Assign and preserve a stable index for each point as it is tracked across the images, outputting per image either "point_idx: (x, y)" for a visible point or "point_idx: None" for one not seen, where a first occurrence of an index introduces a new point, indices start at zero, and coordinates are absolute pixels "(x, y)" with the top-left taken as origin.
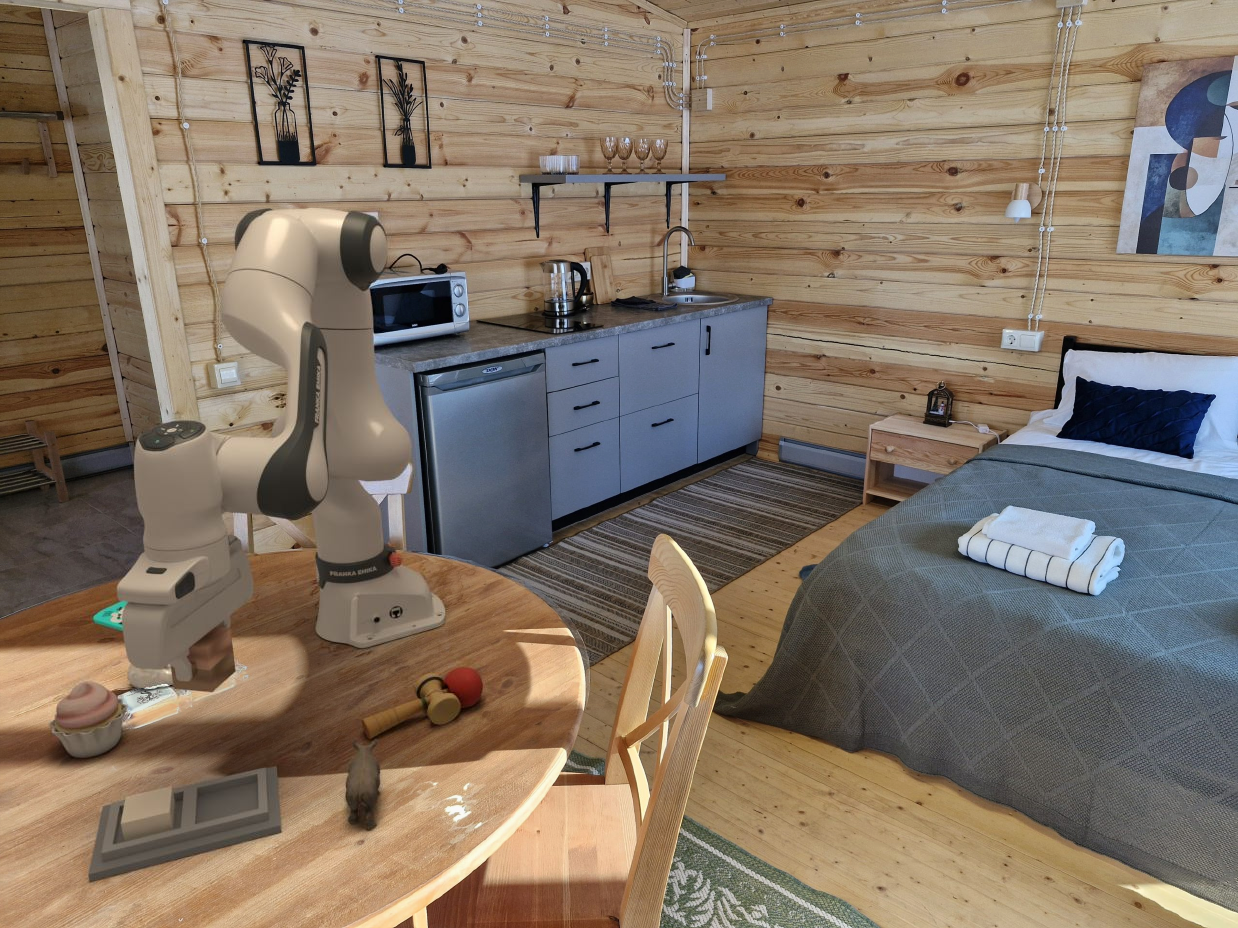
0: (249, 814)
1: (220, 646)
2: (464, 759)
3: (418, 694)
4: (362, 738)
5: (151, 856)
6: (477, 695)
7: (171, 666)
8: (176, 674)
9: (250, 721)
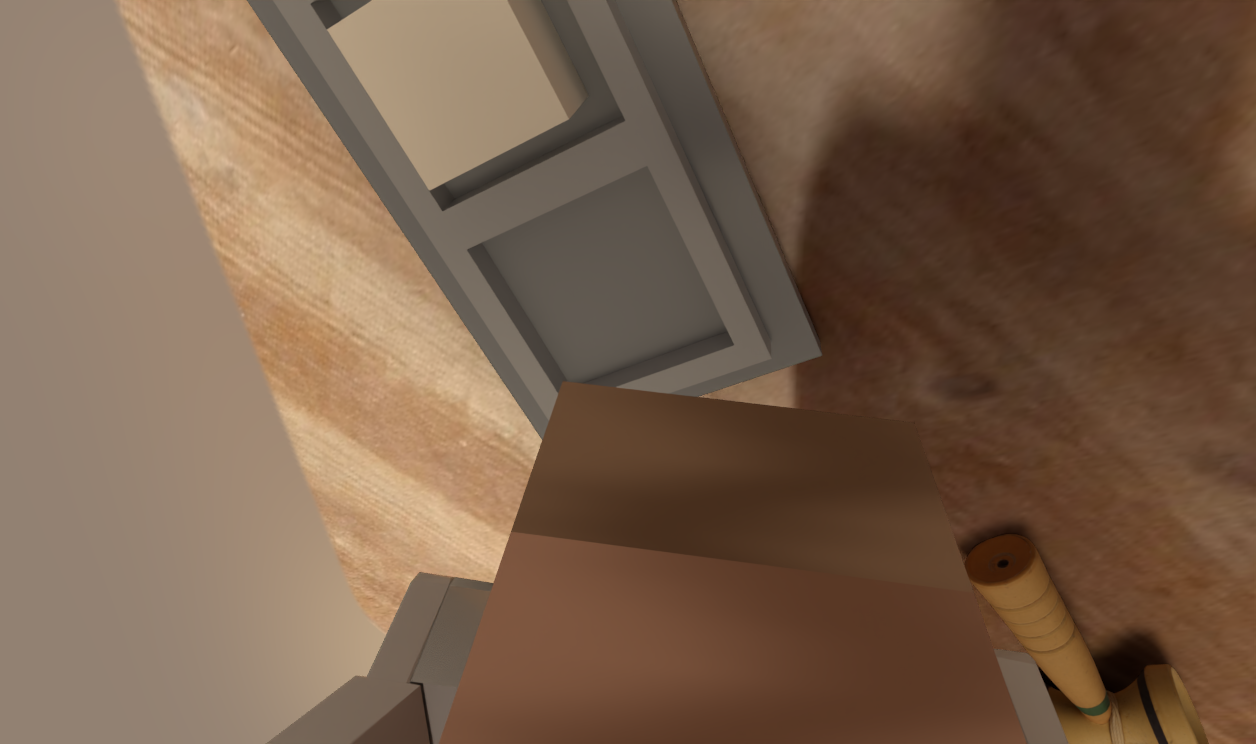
0: (537, 388)
1: None
2: None
3: (1143, 690)
4: (982, 528)
5: (354, 146)
6: None
7: (512, 538)
8: (399, 611)
9: (1233, 104)
